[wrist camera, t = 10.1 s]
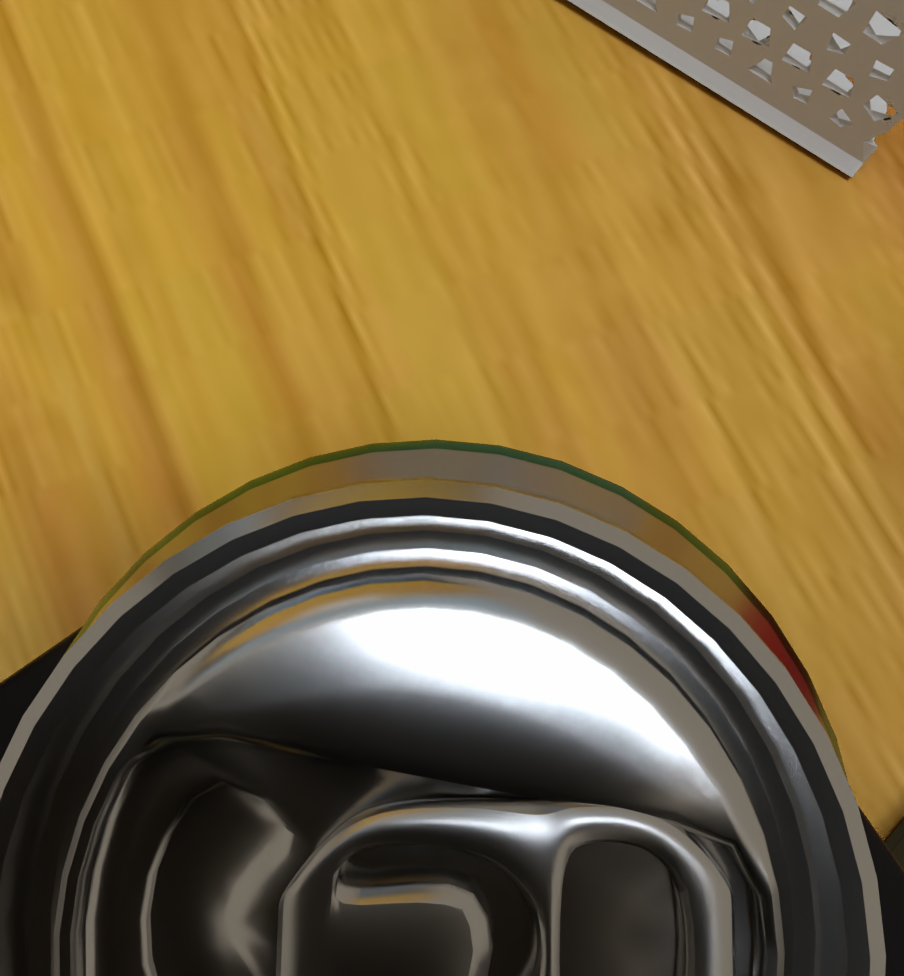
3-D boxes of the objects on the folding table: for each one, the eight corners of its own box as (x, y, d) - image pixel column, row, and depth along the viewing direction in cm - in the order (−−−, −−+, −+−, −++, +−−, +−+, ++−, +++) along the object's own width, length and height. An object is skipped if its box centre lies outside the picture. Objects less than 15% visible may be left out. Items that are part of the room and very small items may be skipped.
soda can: (326, 534, 16) (-81, 393, 4) (590, 539, 16) (949, 407, 4) (316, 807, 15) (-190, 1553, 4) (590, 813, 15) (1010, 1609, 3)
